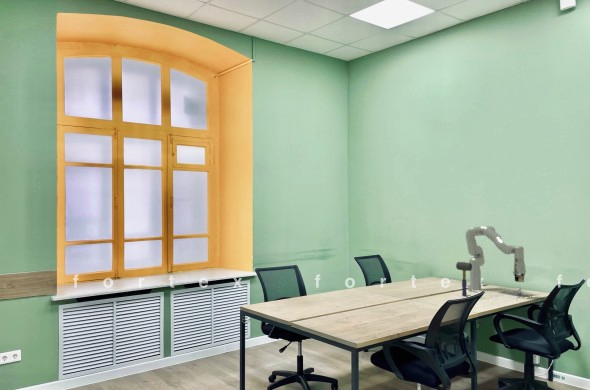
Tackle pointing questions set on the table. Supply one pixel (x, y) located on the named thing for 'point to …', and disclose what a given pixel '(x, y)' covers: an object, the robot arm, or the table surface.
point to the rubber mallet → (464, 274)
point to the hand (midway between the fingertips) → (519, 280)
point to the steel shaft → (519, 291)
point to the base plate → (512, 293)
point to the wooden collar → (520, 278)
